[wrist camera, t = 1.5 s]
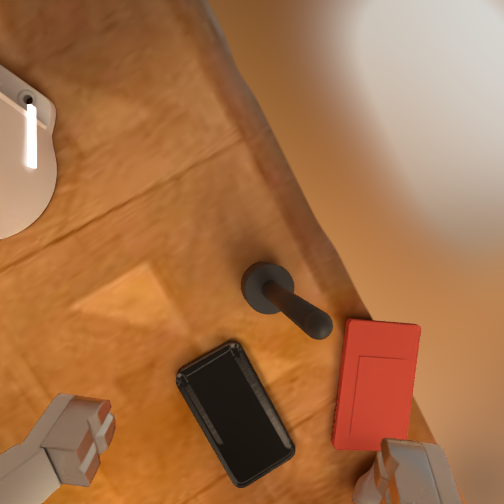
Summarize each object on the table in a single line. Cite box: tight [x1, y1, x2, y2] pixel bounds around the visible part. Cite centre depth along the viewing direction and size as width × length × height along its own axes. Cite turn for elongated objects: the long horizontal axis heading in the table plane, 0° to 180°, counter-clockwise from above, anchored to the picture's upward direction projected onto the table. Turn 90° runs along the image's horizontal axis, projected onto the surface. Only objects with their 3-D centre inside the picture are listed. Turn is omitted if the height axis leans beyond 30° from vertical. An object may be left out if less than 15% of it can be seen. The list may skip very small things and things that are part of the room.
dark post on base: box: [241, 262, 333, 340], centre depth 30 cm, size 5×5×18 cm
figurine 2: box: [352, 463, 382, 504], centre depth 39 cm, size 6×7×8 cm
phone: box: [176, 341, 295, 488], centre depth 39 cm, size 8×1×15 cm
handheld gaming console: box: [331, 318, 421, 451], centre depth 41 cm, size 9×1×15 cm
